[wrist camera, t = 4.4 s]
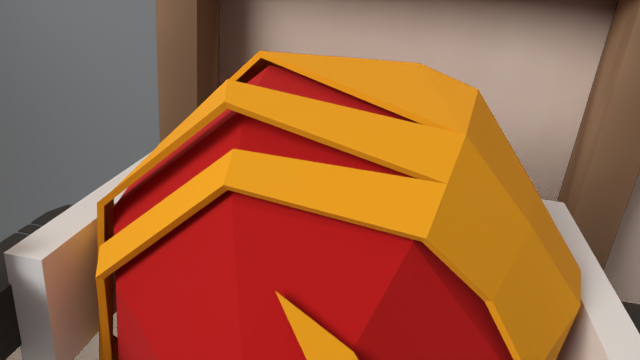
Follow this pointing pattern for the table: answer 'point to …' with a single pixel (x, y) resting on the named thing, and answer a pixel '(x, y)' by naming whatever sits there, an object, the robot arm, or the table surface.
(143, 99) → the coaster
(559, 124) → the table surface
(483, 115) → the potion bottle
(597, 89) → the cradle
